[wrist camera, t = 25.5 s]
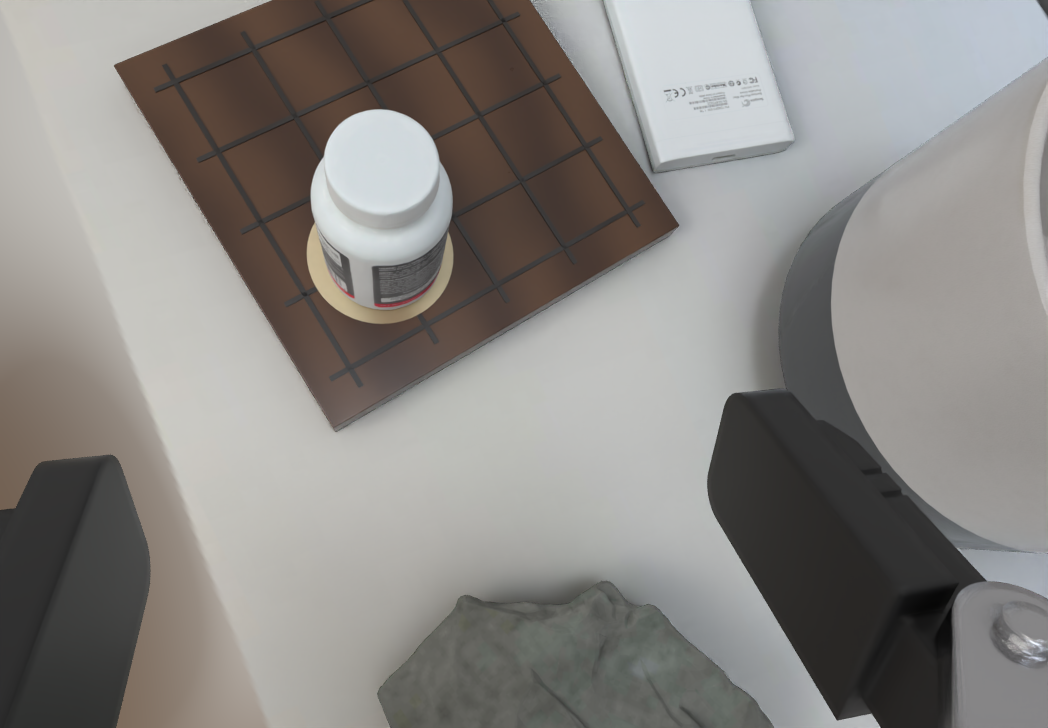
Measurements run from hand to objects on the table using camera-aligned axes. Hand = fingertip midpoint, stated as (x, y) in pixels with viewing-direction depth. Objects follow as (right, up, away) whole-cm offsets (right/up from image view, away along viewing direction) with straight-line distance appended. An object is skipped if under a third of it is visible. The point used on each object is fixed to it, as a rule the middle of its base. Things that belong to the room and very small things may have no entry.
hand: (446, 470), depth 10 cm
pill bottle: (-6, +6, +25) cm, 26 cm away
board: (-5, +12, +28) cm, 30 cm away
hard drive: (+10, +18, +32) cm, 38 cm away
